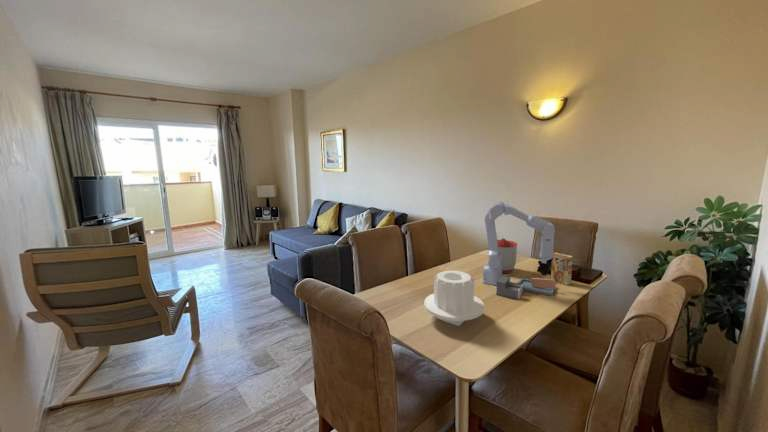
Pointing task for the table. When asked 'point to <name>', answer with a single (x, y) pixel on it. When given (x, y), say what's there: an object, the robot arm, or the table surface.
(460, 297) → the ribbed cylinder on disc
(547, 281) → the long salmon pink stick
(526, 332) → the table surface
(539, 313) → the table surface
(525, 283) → the tray
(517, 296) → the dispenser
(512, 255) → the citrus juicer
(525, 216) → the robot arm
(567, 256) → the candy box
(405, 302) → the table surface
